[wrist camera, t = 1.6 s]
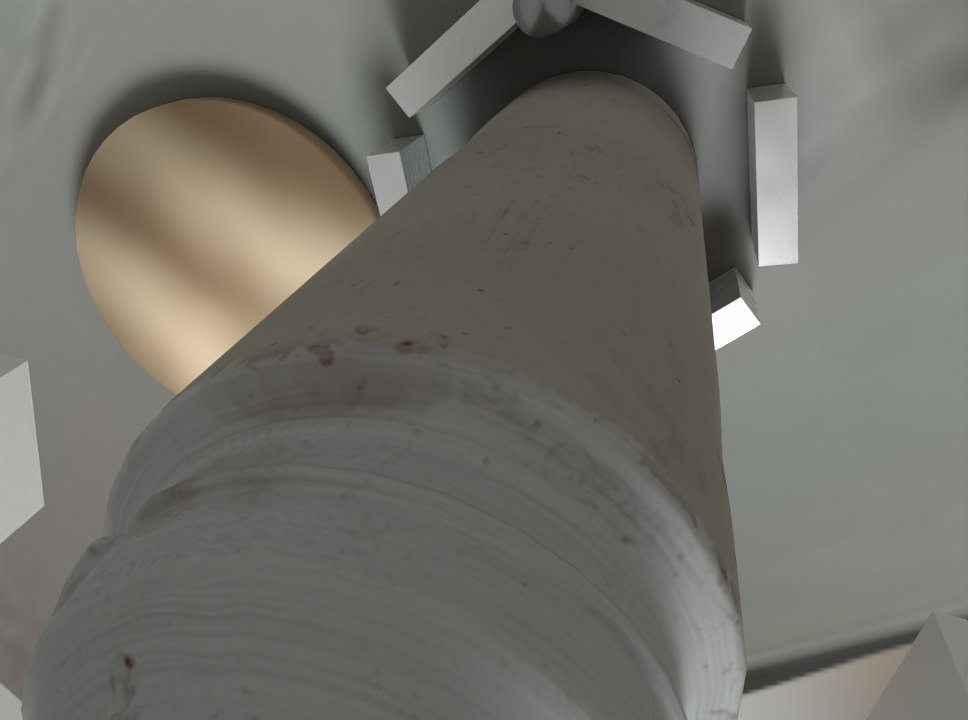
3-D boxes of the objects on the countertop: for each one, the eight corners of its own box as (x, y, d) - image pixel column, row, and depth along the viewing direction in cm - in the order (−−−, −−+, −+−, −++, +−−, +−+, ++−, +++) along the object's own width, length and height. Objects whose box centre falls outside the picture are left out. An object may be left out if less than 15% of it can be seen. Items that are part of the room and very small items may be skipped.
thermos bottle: (717, 261, 29) (931, 1818, 5) (513, 306, 32) (-27, 1469, 7) (671, 39, 26) (612, 1155, 2) (450, 107, 29) (-815, 954, 4)
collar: (463, -96, 26) (419, -107, 21) (879, 77, 25) (921, 102, 21) (354, 269, 32) (305, 318, 28) (682, 410, 32) (683, 481, 28)
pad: (107, 39, 30) (90, 41, 29) (442, 182, 30) (435, 188, 29) (77, 338, 37) (63, 347, 36) (349, 456, 37) (341, 468, 36)
